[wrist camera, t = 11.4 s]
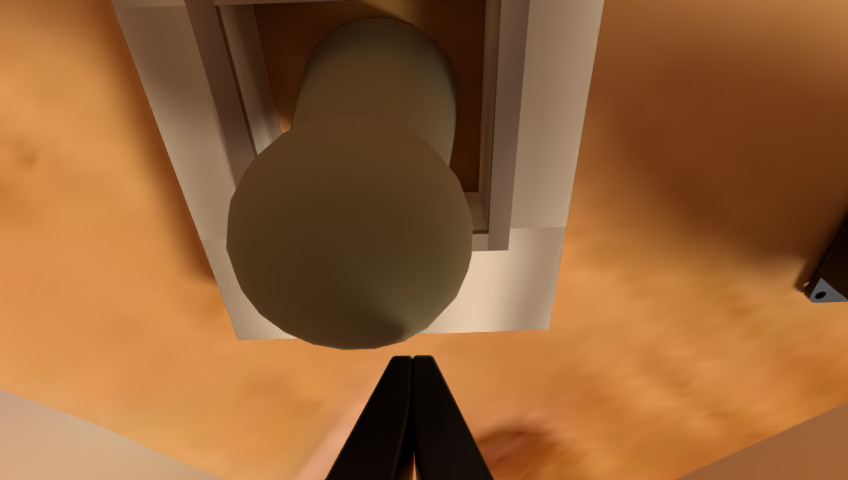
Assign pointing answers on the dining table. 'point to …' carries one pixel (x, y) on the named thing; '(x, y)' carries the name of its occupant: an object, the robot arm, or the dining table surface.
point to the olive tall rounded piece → (358, 195)
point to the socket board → (490, 207)
